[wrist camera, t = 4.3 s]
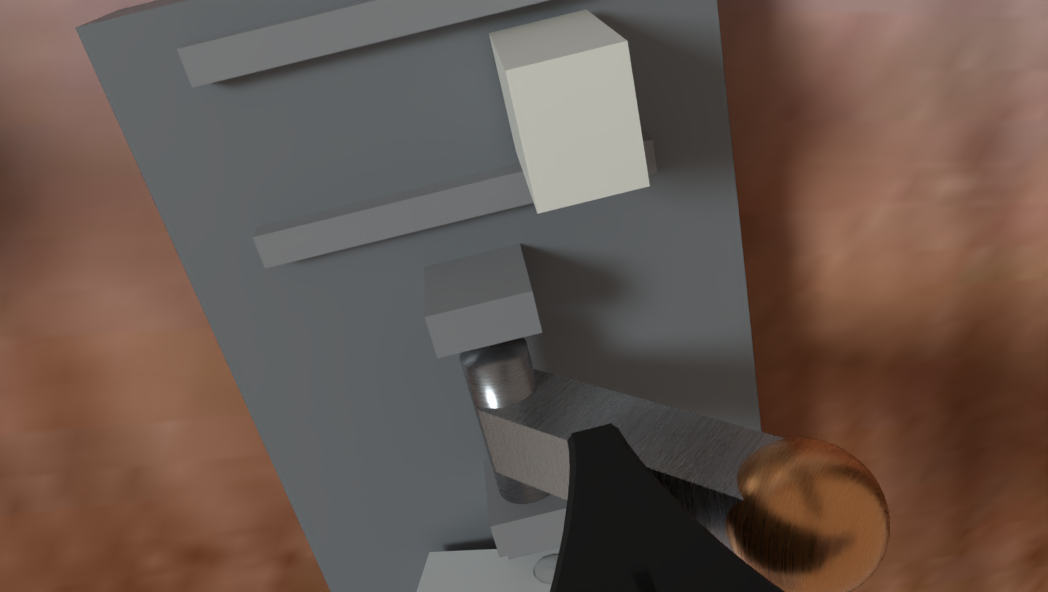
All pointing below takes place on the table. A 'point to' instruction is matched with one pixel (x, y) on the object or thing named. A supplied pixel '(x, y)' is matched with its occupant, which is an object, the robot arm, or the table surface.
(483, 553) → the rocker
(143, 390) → the table surface
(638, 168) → the off-white rectangular block
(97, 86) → the table surface
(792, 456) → the lever
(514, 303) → the panel
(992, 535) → the table surface
